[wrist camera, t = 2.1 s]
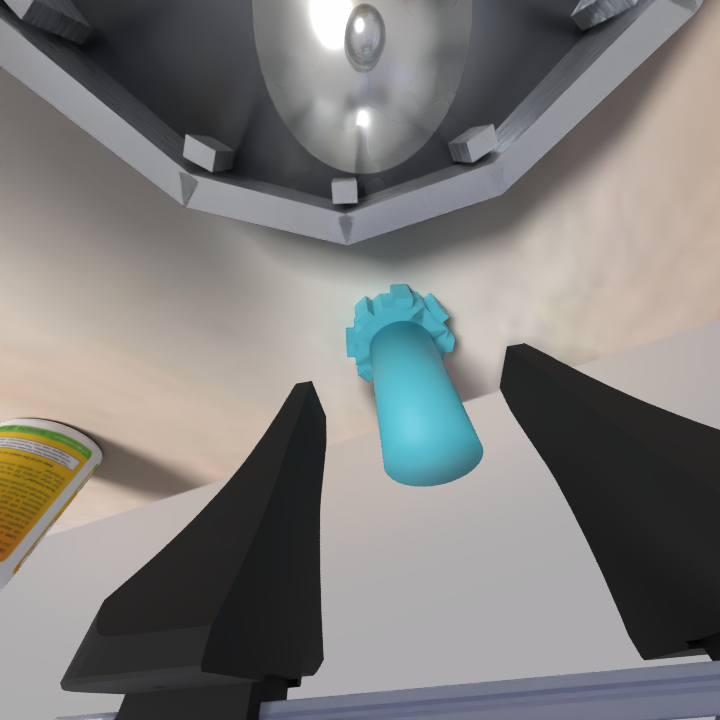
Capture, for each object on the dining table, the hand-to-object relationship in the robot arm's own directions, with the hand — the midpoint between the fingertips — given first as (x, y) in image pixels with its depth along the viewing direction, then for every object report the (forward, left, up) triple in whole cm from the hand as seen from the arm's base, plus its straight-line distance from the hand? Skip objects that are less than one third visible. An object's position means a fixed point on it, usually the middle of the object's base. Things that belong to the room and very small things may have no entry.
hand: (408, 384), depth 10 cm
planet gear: (0, 0, -4) cm, 4 cm away
